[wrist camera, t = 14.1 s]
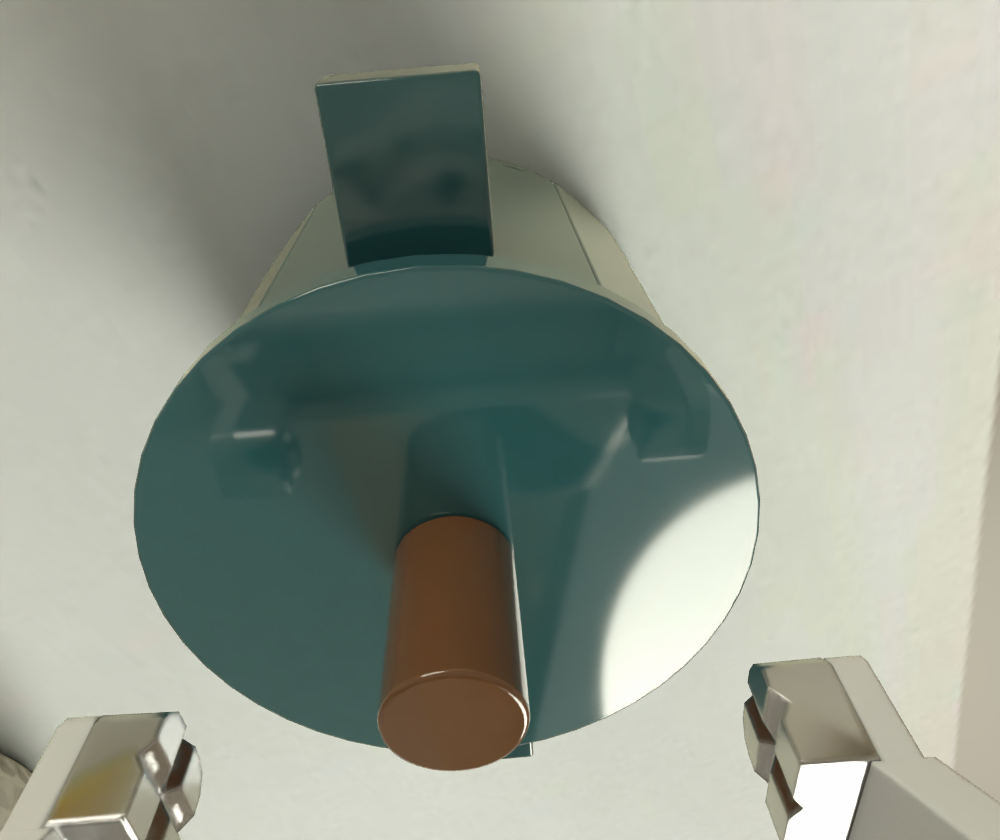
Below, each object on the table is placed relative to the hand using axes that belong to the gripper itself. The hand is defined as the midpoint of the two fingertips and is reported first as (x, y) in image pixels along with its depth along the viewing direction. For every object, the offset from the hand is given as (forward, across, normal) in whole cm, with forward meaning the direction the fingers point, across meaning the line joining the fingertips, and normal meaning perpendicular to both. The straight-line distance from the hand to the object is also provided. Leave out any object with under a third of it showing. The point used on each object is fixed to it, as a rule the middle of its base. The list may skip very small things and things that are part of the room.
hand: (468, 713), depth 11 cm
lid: (+4, 0, 0) cm, 4 cm away
